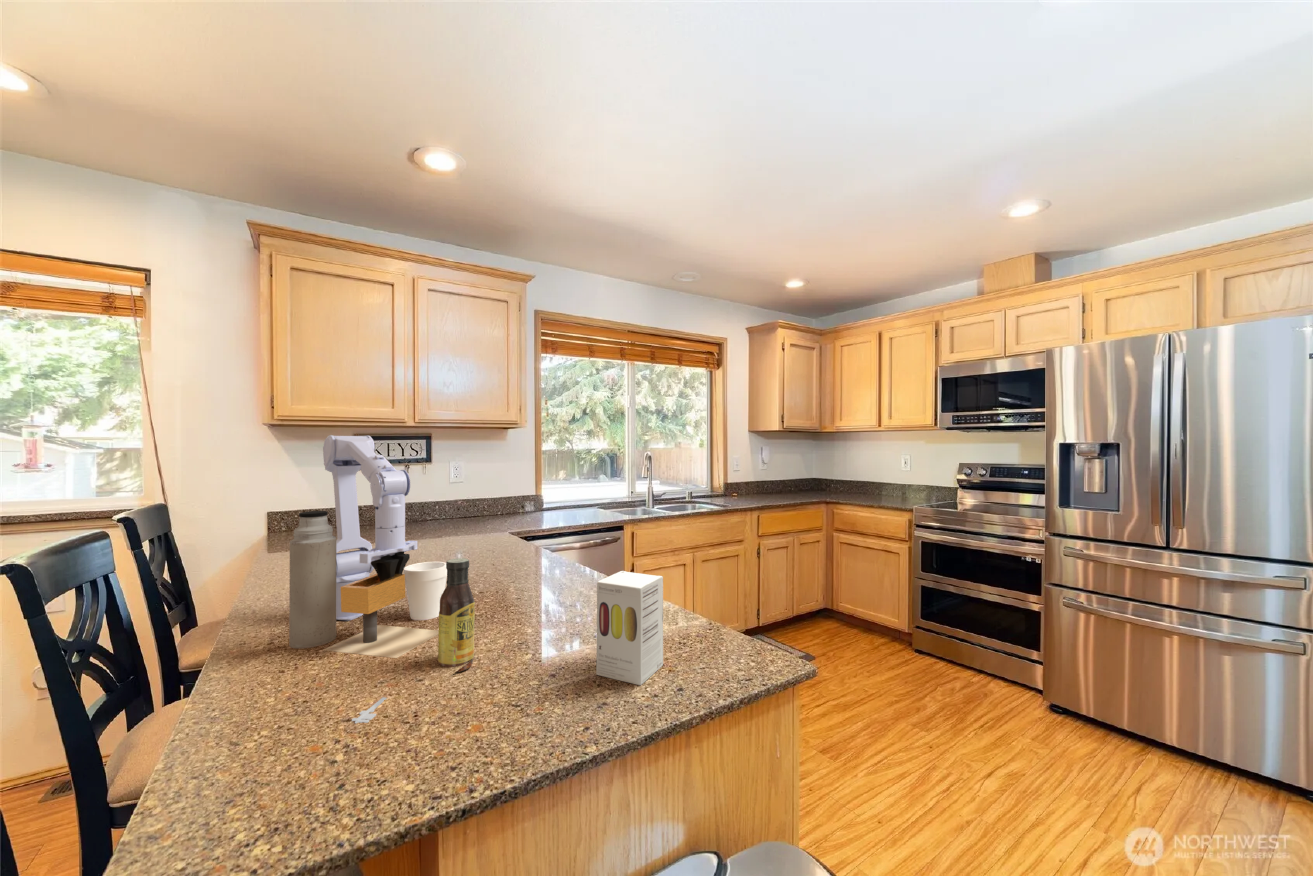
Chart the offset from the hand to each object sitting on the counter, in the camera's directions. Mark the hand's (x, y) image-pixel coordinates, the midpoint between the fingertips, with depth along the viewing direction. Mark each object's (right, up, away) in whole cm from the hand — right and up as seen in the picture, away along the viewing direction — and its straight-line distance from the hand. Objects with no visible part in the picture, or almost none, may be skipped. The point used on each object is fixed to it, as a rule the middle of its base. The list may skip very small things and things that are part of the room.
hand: (390, 589), depth 108 cm
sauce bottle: (+20, -10, -15) cm, 27 cm away
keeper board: (+2, -10, -5) cm, 12 cm away
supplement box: (+53, -10, -16) cm, 56 cm away
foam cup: (+3, -11, +10) cm, 15 cm away
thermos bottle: (-13, -11, -5) cm, 18 cm away
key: (+13, -11, -27) cm, 32 cm away
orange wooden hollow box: (-1, -2, -4) cm, 5 cm away
